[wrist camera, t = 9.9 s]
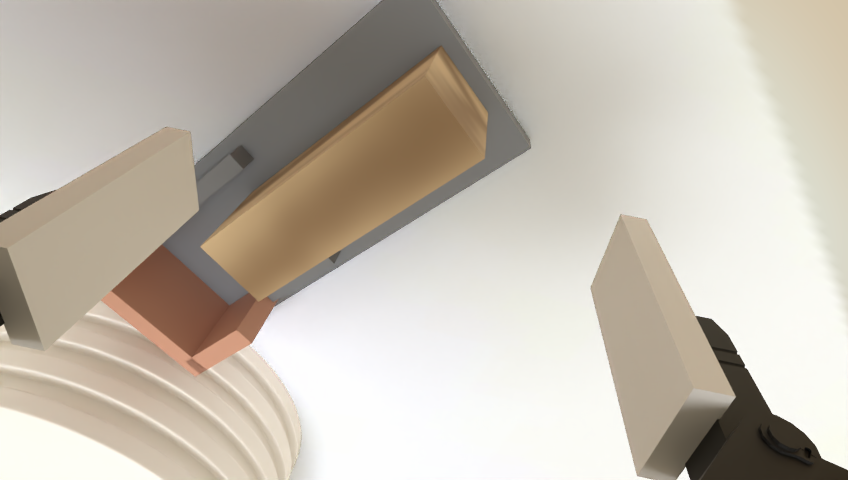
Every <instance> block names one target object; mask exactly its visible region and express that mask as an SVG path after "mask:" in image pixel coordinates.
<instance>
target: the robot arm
mask: <svg viewBox="0 0 848 480" xmlns="http://www.w3.org/2000/svg"><path fill="white" fill-rule="evenodd" d="M198 211H199V205H198V196H197V187H196V178H195V169H194V160H193V151H192V142H191V133H190V131H185V130H180V129H174V128H169V127H165V128H163V129H162V130H160V131H158V132H156V133H155V134H153V135H151V136H149V137H148V138H146V139H144V140H143V141H141V142H139V143H137V144H136V145H134V146H132V147H130V148H129V149H127V150H125V151H123V152H122V153H120V154H118V155H117V156H115V157H113V158H111V159H110V160H108V161H106V162H104V163H103V164H101V165H99V166H97V167H96V168H94V169H92V170H91V171H89V172H87V173H85V174H84V175H82V176H80V177H78V178H77V179H75V180H73V181H72V182H70V183H68V184H66V185H65V186H63V187H61V188H59V189H58V190H54V191H51V192H48V193H44V194H41V195H38V196H35V197H32V198H30V199H28V200H26V201H25V202H23V203H21V204H19V205H17V206H16V207H14V208H13V210H9V211H7V212H5V213H3V214H1V215H0V326H2V325H3V324H4V327H5V329H6V331H7V334H8V336H9V339H10V341H11V344H13V345H18V346H22V347H27V348H32V349H37V350H41V351H46V350H47V349H48V348H49V347H50V346H51V345H52V344H53V343H54V342H56V341H57V340H58V339H59V338H60V337H61V336H62V335H63V334H64V333H65V332H66V331H68V330H69V329H70V328H71V327H72V326H73V325H74V324H75V323H76V322H77V321H78V320H80V319H81V318H82V317H83V316H84V315H85V314H86V313H87V312H88V311H89V310H90V309H92V308H93V307H94V306H95V305H96V304H97V303H98V302H99V301H100V300H101V299H103V298H104V297H105V296H106V295H107V294H108V293H109V292H110V291H111V290H112V289H113V288H115V287H116V286H117V285H118V284H119V283H120V282H121V281H122V280H123V279H124V278H125V277H127V276H128V275H129V274H130V273H131V272H132V271H133V270H134V269H135V268H136V267H138V266H139V265H140V264H141V263H142V262H143V261H144V260H145V259H146V258H147V257H148V256H150V255H151V254H152V253H153V252H154V251H155V250H156V249H157V248H158V247H159V246H160V245H162V244H163V243H164V242H165V241H166V240H167V239H168V238H169V237H170V236H171V235H172V234H174V233H175V232H176V231H177V230H178V229H179V228H180V227H181V226H182V225H183V224H185V223H186V222H187V221H188V220H189V219H190V218H191V217H192V216H193V215H194V214H195V213H197V212H198ZM591 292H592V296H593V300H594V304H595V308H596V312H597V316H598V320H599V324H600V328H601V332H602V336H603V340H604V344H605V348H606V352H607V356H608V360H609V365H610V369H611V373H612V377H613V381H614V385H615V389H616V393H617V397H618V401H619V405H620V409H621V413H622V417H623V421H624V425H625V429H626V433H627V437H628V441H629V445H630V449H631V453H632V457H633V461H634V465H635V469H636V473H637V476H639V477H644V478H649V479H653V480H676V479H677V478H678V476H679V475H680V474H681V472H682V471H683V470H684V468H685V467H686V468H687V471H688V474H689V477H690V480H848V470H846V469H844V468H842V467H839V466H837V465H835V464H833V463H830V462H828V461H826V460H824V459H822V458H821V456H820V454H819V452H818V450H817V448H816V446H815V445H814V444H813V442H812V441H811V440H810V439H809V438H808V437H807V436H806V434H805V433H803V432H802V431H801V430H799V429H798V428H797V427H795V426H794V425H793V424H792V423H790V422H788V421H786V420H784V419H782V418H780V417H778V416H777V415H773V414H772V413H771V411H770V409H769V407H768V405H767V404H766V402H765V400H764V398H763V396H762V395H761V393H760V391H759V389H758V388H757V386H756V384H755V382H754V380H753V379H752V377H751V375H750V373H749V372H748V370H747V369H746V368H744V367H745V364H744V363H743V361H742V359H741V357H740V355H737V350H736V348H735V347H734V345H733V343H732V341H731V339H730V338H729V336H728V335H727V334H726V333H725V332H724V331H723V330H722V329H721V328H720V327H719V326H718V325H717V324H716V323H715V322H714V321H713V320H712V319H709V318H704V317H699V316H695V314H694V312H693V310H692V308H691V306H690V305H689V303H688V301H687V299H686V297H685V295H684V293H683V291H682V289H681V287H680V285H679V283H678V281H677V279H676V277H675V275H674V273H673V271H672V269H671V267H670V265H669V263H668V261H667V259H666V257H665V255H664V253H663V251H662V249H661V247H660V245H659V243H658V241H657V239H656V237H655V235H654V233H653V231H652V229H651V227H650V225H649V223H648V221H647V219H642V218H637V217H632V216H626V215H620V217H619V220H618V222H617V225H616V227H615V230H614V232H613V234H612V237H611V239H610V242H609V244H608V246H607V249H606V251H605V254H604V256H603V259H602V261H601V263H600V266H599V268H598V271H597V273H596V275H595V278H594V280H593V283H592V285H591Z"/></svg>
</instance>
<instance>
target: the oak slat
mask: <svg viewBox="0 0 848 480" xmlns="http://www.w3.org/2000/svg"><path fill="white" fill-rule="evenodd" d="M487 122H488V112H487V110H486V109H485V108H484V106H483V105H482V103H481V102H480V100H479V99H478V97H477V96H476V95H475V93H474V92H473V90H472V89H471V87H470V86H469V84H468V83H467V82H466V80H465V79H464V77H463V76H462V74H461V73H460V71H459V70H458V69H457V67H456V66H455V64H454V63H453V61H452V60H451V59H450V57H449V56H448V54H447V53H446V51H445V50H444V48H443V47H442V46H440V47H438V48H437V49H436V50H434V51H433V52H432V53H431V54H429V55H428V56H427V57H425V58H424V59H423V60H421V61H420V62H419V63H418V64H416V65H415V66H414V67H412V68H411V69H410V70H409V71H407V72H406V73H405V74H403V75H402V76H401V77H400V78H398V79H397V80H396V81H394V82H393V83H392V84H391V85H389V86H388V87H387V88H385V89H384V90H383V91H382V92H380V93H379V94H378V95H376V96H375V97H374V98H373V99H371V100H370V101H369V102H367V103H366V104H365V105H364V106H362V107H361V108H360V109H358V110H357V111H356V112H355V113H353V114H352V115H351V116H349V117H348V118H347V119H346V120H344V121H343V122H342V123H340V124H339V125H338V126H337V127H335V128H334V129H333V130H331V131H330V132H329V133H328V134H326V135H325V136H324V137H322V138H321V139H320V140H319V141H317V142H316V143H315V144H313V145H312V146H311V147H310V148H308V149H307V150H306V151H304V152H303V153H302V154H301V155H299V156H298V157H297V158H295V159H294V160H293V161H292V162H290V163H289V164H288V165H286V166H285V167H284V168H283V169H281V170H280V171H279V172H277V173H276V174H275V175H274V176H272V177H271V178H270V179H268V180H267V181H266V182H265V183H263V184H262V185H261V186H259V187H258V188H257V189H256V190H254V191H253V192H252V193H251V194H250V195H249V196H248V197H247V198H246V199H245V200H244V201H243V202H242V203H241V204H240V205H239V206H238V207H237V208H236V209H235V210H234V212H233V213H232V214H231V215H230V216H229V217H228V218H227V219H226V220H225V221H224V222H223V223H222V224H221V225H220V226H219V227H218V228H217V229H216V230H215V231H214V233H213V234H212V235H211V236H210V237H209V238H208V239H207V240H206V241H205V242H204V243H203V244H202V245H201V246H200V247H201V248H202V249H203V250H204V251H205V252H206V253H207V254H208V255H209V256H210V257H211V258H212V259H214V260H215V261H216V262H217V263H218V264H219V265H220V266H221V267H222V268H223V269H224V270H225V271H226V272H227V273H229V274H230V275H231V276H232V277H233V278H234V279H235V280H236V281H237V282H238V283H239V284H240V285H241V286H242V287H243V288H245V289H246V290H247V291H248V292H249V293H250V294H251V295H252V296H253V297H254V298H255V299H256V300H257V301H258V302H259V301H261V300H262V299H264V298H265V297H267V296H269V295H270V294H272V293H273V292H275V291H276V290H278V289H280V288H281V287H283V286H284V285H286V284H288V283H289V282H291V281H292V280H294V279H295V278H297V277H299V276H300V275H302V274H303V273H305V272H306V271H308V270H310V269H311V268H313V267H314V266H316V265H318V264H319V263H321V262H322V261H324V260H325V259H327V258H329V257H330V256H332V255H333V254H335V253H336V252H338V251H340V250H341V249H343V248H344V247H346V246H348V245H349V244H351V243H352V242H354V241H355V240H357V239H359V238H360V237H362V236H363V235H365V234H366V233H368V232H370V231H371V230H373V229H374V228H376V227H378V226H379V225H381V224H382V223H384V222H385V221H387V220H389V219H390V218H392V217H393V216H395V215H396V214H398V213H400V212H401V211H403V210H404V209H406V208H408V207H409V206H411V205H412V204H414V203H415V202H417V201H419V200H420V199H422V198H423V197H425V196H427V195H428V194H430V193H431V192H433V191H434V190H436V189H438V188H439V187H441V186H442V185H444V184H445V183H447V182H449V181H450V180H452V179H453V178H455V177H457V176H458V175H460V174H461V173H463V172H464V171H466V170H468V169H469V168H471V167H472V166H474V165H475V164H477V163H479V162H480V161H482V160H483V159H485V149H486V135H487Z"/></svg>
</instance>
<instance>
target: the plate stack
mask: <svg viewBox="0 0 848 480" xmlns="http://www.w3.org/2000/svg"><path fill="white" fill-rule="evenodd" d="M300 447H301V426H300V420H299V417H298V413H297V410H296V408H295V405H294V403H293V400H292V398H291V396H290V395H289V393H288V391H287V389H286V388H285V386H284V384H283V383H282V381H281V380H280V379H279V377H278V376H277V374H276V373H275V372H274V371H273V369H272V368H271V367H270V366H269V365H268V364H267V362H266V361H265V360H264V359H263V358H262V357H261V356H260V355H259V354H258V353H257V352H256V351H255V350H254V349H253V348H251V347H250V346H249V345H248V346H246V347H245V348H243V349H241V350H240V351H238V352H236V353H235V354H233V355H231V356H229V357H228V358H226V359H224V360H223V361H221V362H219V363H218V364H216V365H214V366H212V367H211V368H209V369H207V370H206V371H204V372H202V373H201V374H199V375H197V376H194V375H192V374H191V373H190V372H189V371H187V370H186V369H185V368H184V367H182V366H181V365H180V364H179V363H178V362H176V361H175V360H174V359H173V358H171V357H170V356H169V355H168V354H166V353H165V352H164V351H163V350H161V349H160V348H159V347H158V346H157V345H155V344H154V343H153V342H152V341H150V340H149V339H148V338H147V337H145V336H144V335H143V334H142V333H140V332H139V331H138V330H137V329H136V328H134V327H133V326H132V325H131V324H129V323H128V322H127V321H126V320H124V319H123V318H122V317H121V316H119V315H118V314H117V313H116V312H115V311H113V310H112V309H111V308H110V307H108V306H107V305H106V304H105V303H103V302H102V301H101V300H100V301H99V302H98V303H97V304H96V305H95V306H94V307H93V308H92V309H90V310H89V311H88V312H87V313H86V314H85V315H84V316H83V317H82V318H81V319H80V320H78V321H77V322H76V323H75V324H74V325H73V326H72V327H71V328H70V329H69V330H68V331H66V332H65V333H64V334H63V335H62V336H61V337H60V338H59V339H58V340H57V341H56V342H54V343H53V344H52V345H51V346H50V347H49V348H48V349H47V350H46V351H41V350H37V349H32V348H27V347H22V346H18V345H13V344H11V341H10V339H9V336H8V334H7V331H6V329H5V327H4V324H3V325H2V326H0V480H289V477H290V474H291V472H292V470H293V468H294V465H295V462H296V460H297V457H298V455H299V451H300Z"/></svg>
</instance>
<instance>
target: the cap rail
mask: <svg viewBox="0 0 848 480" xmlns="http://www.w3.org/2000/svg"><path fill="white" fill-rule="evenodd" d="M440 46H442V47H443V48H444V50H445V51H446V53H447V54H448V56H449V57H450V59H451V60H452V61H453V63H454V64H455V66H456V67H457V69H458V70H459V71H460V73H461V74H462V76H463V77H464V79H465V80H466V82H467V83H468V84H469V86H470V87H471V89H472V90H473V92H474V93H475V95H476V96H477V97H478V99H479V100H480V102H481V103H482V105H483V106H484V108H485V109H486V110H487V112H488V122H487V135H486V149H485V159H483V160H482V161H480V162H479V163H477V164H475V165H474V166H472V167H471V168H469V169H468V170H466V171H464V172H463V173H461V174H460V175H458V176H457V177H455V178H453V179H452V180H450V181H449V182H447V183H445V184H444V185H442V186H441V187H439V188H438V189H436V190H434V191H433V192H431V193H430V194H428V195H427V196H425V197H423V198H422V199H420V200H419V201H417V202H415V203H414V204H412V205H411V206H409V207H408V208H406V209H404V210H403V211H401V212H400V213H398V214H396V215H395V216H393V217H392V218H390V219H389V220H387V221H385V222H384V223H382V224H381V225H379V226H378V227H376V228H374V229H373V230H371V231H370V232H368V233H366V234H365V235H363V236H362V237H360V238H359V239H357V240H355V241H354V242H352V243H351V244H349V245H348V246H346V247H344V248H343V249H341V250H340V251H338V252H336V253H335V254H333V255H332V256H330V257H329V258H327V259H325V260H324V261H322V262H321V263H319V264H318V265H316V266H314V267H313V268H311V269H310V270H308V271H306V272H305V273H303V274H302V275H300V276H299V277H297V278H295V279H294V280H292V281H291V282H289V283H288V284H286V285H284V286H283V287H281V288H280V289H278V290H276V291H275V292H273V293H272V294H270V295H269V296H267V297H265V298H264V299H262V300H261V301H259V302H258V301H257V300H256V299H255V298H254V297H253V296H252V295H251V294H250V293H249V292H248V291H247V290H246V289H245V288H243V287H242V286H241V285H240V284H239V283H238V282H237V281H236V280H235V279H234V278H233V277H232V276H231V275H230V274H229V273H227V272H226V271H225V270H224V269H223V268H222V267H221V266H220V265H219V264H218V263H217V262H216V261H215V260H214V259H212V258H211V257H210V256H209V255H208V254H207V253H206V252H205V251H204V250H203V249H202V248H201V247H200V246H201V245H202V244H203V243H204V242H205V241H206V240H207V239H208V238H209V237H210V236H211V235H212V234H213V233H214V231H215V230H216V229H217V228H218V227H219V226H220V225H221V224H222V223H223V222H224V221H225V220H226V219H227V218H228V217H229V216H230V215H231V214H232V213H233V212H234V210H235V209H236V208H237V207H238V206H239V205H240V204H241V203H242V202H243V201H244V200H245V199H246V198H247V197H248V196H249V195H250V194H251V193H252V192H253V191H254V190H256V189H257V188H258V187H259V186H261V185H262V184H263V183H265V182H266V181H267V180H268V179H270V178H271V177H272V176H274V175H275V174H276V173H277V172H279V171H280V170H281V169H283V168H284V167H285V166H286V165H288V164H289V163H290V162H292V161H293V160H294V159H295V158H297V157H298V156H299V155H301V154H302V153H303V152H304V151H306V150H307V149H308V148H310V147H311V146H312V145H313V144H315V143H316V142H317V141H319V140H320V139H321V138H322V137H324V136H325V135H326V134H328V133H329V132H330V131H331V130H333V129H334V128H335V127H337V126H338V125H339V124H340V123H342V122H343V121H344V120H346V119H347V118H348V117H349V116H351V115H352V114H353V113H355V112H356V111H357V110H358V109H360V108H361V107H362V106H364V105H365V104H366V103H367V102H369V101H370V100H371V99H373V98H374V97H375V96H376V95H378V94H379V93H380V92H382V91H383V90H384V89H385V88H387V87H388V86H389V85H391V84H392V83H393V82H394V81H396V80H397V79H398V78H400V77H401V76H402V75H403V74H405V73H406V72H407V71H409V70H410V69H411V68H412V67H414V66H415V65H416V64H418V63H419V62H420V61H421V60H423V59H424V58H425V57H427V56H428V55H429V54H431V53H432V52H433V51H434V50H436V49H437V48H438V47H440ZM530 148H531V145H530V139H529V138H528V136H527V135H526V133H525V132H524V130H523V129H522V127H521V126H520V125H519V123H518V122H517V120H516V119H515V117H514V116H513V114H512V113H511V111H510V110H509V108H508V107H507V105H506V104H505V102H504V101H503V99H502V98H501V96H500V95H499V93H498V92H497V90H496V89H495V88H494V86H493V85H492V83H491V82H490V80H489V79H488V77H487V76H486V74H485V73H484V71H483V70H482V68H481V67H480V65H479V64H478V62H477V61H476V59H475V58H474V56H473V55H472V53H471V52H470V51H469V49H468V48H467V46H466V45H465V43H464V42H463V40H462V39H461V37H460V36H459V34H458V33H457V31H456V30H455V28H454V27H453V25H452V24H451V22H450V21H449V19H448V18H447V16H446V15H445V14H444V12H443V11H442V9H441V8H440V6H439V5H438V3H437V2H436V0H382V1H381V2H380V3H379V4H378V5H377V6H376V7H374V8H373V9H372V10H371V11H370V12H369V13H368V14H366V15H365V16H364V17H363V18H362V19H361V20H360V21H358V22H357V23H356V24H355V25H354V26H353V27H352V28H351V29H349V30H348V31H347V32H346V33H345V34H344V35H343V36H341V37H340V38H339V39H338V40H337V41H336V42H335V43H333V44H332V45H331V46H330V47H329V48H328V49H327V50H325V51H324V52H323V53H322V54H321V55H320V56H319V57H318V58H316V59H315V60H314V61H313V62H312V63H311V64H310V65H308V66H307V67H306V68H305V69H304V70H303V71H302V72H300V73H299V74H298V75H297V76H296V77H295V78H294V79H292V80H291V81H290V82H289V83H288V84H287V85H286V86H285V87H283V88H282V89H281V90H280V91H279V92H278V93H277V94H275V95H274V96H273V97H272V98H271V99H270V100H269V101H267V102H266V103H265V104H264V105H263V106H262V107H261V108H259V109H258V110H257V111H256V112H255V113H254V114H253V115H251V116H250V117H249V118H248V119H247V120H246V121H245V122H244V123H242V124H241V125H240V126H239V127H238V128H237V129H236V130H234V131H233V132H232V133H231V134H230V135H229V136H228V137H226V138H225V139H224V140H223V141H222V142H221V143H220V144H218V145H217V146H216V147H215V148H214V149H213V150H212V151H211V152H209V153H208V154H207V155H206V156H205V157H204V158H203V159H201V160H200V161H199V162H198V163H197V164H196V165H195V166H194V169H195V178H196V187H197V196H198V205H199V211H198V212H197V213H195V214H194V215H193V216H192V217H191V218H190V219H189V220H188V221H187V222H186V223H185V224H183V225H182V226H181V227H180V228H179V229H178V230H177V231H176V232H175V233H174V234H172V235H171V236H170V237H169V238H168V239H167V240H166V241H165V242H164V243H163V244H162V245H160V246H159V247H158V248H157V249H156V250H155V251H154V252H153V253H152V254H151V255H150V256H148V257H147V258H146V259H145V260H144V261H143V262H142V263H141V264H140V265H139V266H138V267H136V268H135V269H134V270H133V271H132V272H131V273H130V274H129V275H128V276H127V277H125V278H124V279H123V280H122V281H121V282H120V283H119V284H118V285H117V286H116V287H115V288H113V289H112V290H111V291H110V292H109V293H108V294H107V295H106V296H105V297H104V298H103V299H101V301H102V302H103V303H105V304H106V305H107V306H108V307H110V308H111V309H112V310H113V311H115V312H116V313H117V314H118V315H119V316H121V317H122V318H123V319H124V320H126V321H127V322H128V323H129V324H131V325H132V326H133V327H134V328H136V329H137V330H138V331H139V332H140V333H142V334H143V335H144V336H145V337H147V338H148V339H149V340H150V341H152V342H153V343H154V344H155V345H157V346H158V347H159V348H160V349H161V350H163V351H164V352H165V353H166V354H168V355H169V356H170V357H171V358H173V359H174V360H175V361H176V362H178V363H179V364H180V365H181V366H182V367H184V368H185V369H186V370H187V371H189V372H190V373H191V374H192V375H194V376H197V375H199V374H201V373H202V372H204V371H206V370H207V369H209V368H211V367H212V366H214V365H216V364H218V363H219V362H221V361H223V360H224V359H226V358H228V357H229V356H231V355H233V354H235V353H236V352H238V351H240V350H241V349H243V348H245V347H246V346H248V345H250V344H251V343H252V342H253V340H254V339H255V337H256V335H257V334H258V332H259V330H260V329H261V327H262V326H263V324H264V322H265V321H266V319H267V317H268V316H269V314H270V312H271V311H272V309H273V307H274V306H276V305H278V304H279V303H281V302H283V301H284V300H286V299H287V298H289V297H291V296H292V295H294V294H295V293H297V292H299V291H300V290H302V289H304V288H305V287H307V286H308V285H310V284H312V283H313V282H315V281H317V280H318V279H320V278H321V277H323V276H325V275H326V274H328V273H329V272H331V271H333V270H334V269H336V268H338V267H339V266H341V265H342V264H344V263H346V262H347V261H349V260H351V259H352V258H354V257H355V256H357V255H359V254H360V253H362V252H363V251H365V250H367V249H368V248H370V247H372V246H373V245H375V244H376V243H378V242H380V241H381V240H383V239H385V238H386V237H388V236H389V235H391V234H393V233H394V232H396V231H397V230H399V229H401V228H402V227H404V226H406V225H407V224H409V223H410V222H412V221H414V220H415V219H417V218H419V217H420V216H422V215H423V214H425V213H427V212H428V211H430V210H431V209H433V208H435V207H436V206H438V205H440V204H441V203H443V202H444V201H446V200H448V199H449V198H451V197H453V196H454V195H456V194H457V193H459V192H461V191H462V190H464V189H465V188H467V187H469V186H470V185H472V184H474V183H475V182H477V181H478V180H480V179H482V178H483V177H485V176H487V175H488V174H490V173H491V172H493V171H495V170H496V169H498V168H499V167H501V166H503V165H504V164H506V163H508V162H509V161H511V160H512V159H514V158H516V157H517V156H519V155H521V154H522V153H524V152H525V151H527V150H529V149H530Z"/></svg>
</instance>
